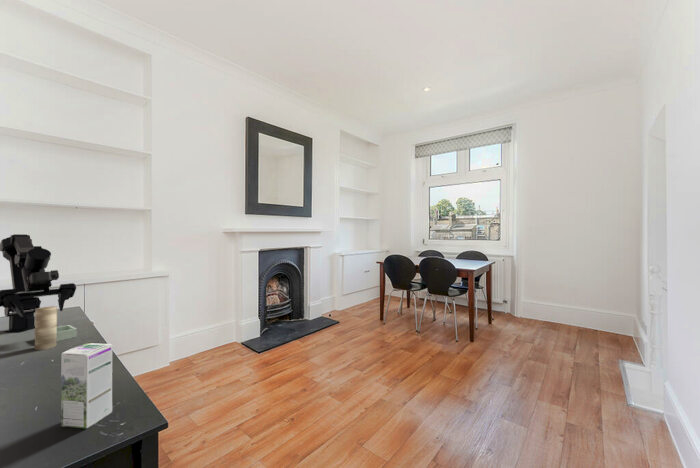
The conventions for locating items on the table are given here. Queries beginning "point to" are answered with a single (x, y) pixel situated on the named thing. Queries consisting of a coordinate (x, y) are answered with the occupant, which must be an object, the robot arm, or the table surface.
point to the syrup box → (86, 385)
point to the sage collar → (66, 332)
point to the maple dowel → (45, 327)
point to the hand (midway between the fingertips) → (43, 313)
